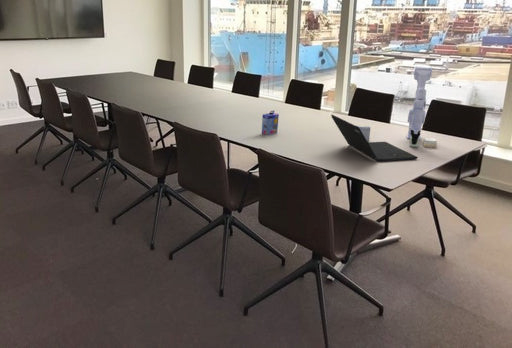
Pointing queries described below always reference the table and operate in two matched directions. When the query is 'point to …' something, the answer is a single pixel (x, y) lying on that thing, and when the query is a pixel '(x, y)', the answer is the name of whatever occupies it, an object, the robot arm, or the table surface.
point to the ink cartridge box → (270, 123)
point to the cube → (413, 144)
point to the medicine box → (365, 131)
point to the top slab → (430, 141)
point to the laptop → (370, 143)
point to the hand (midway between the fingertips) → (413, 143)
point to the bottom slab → (429, 145)
